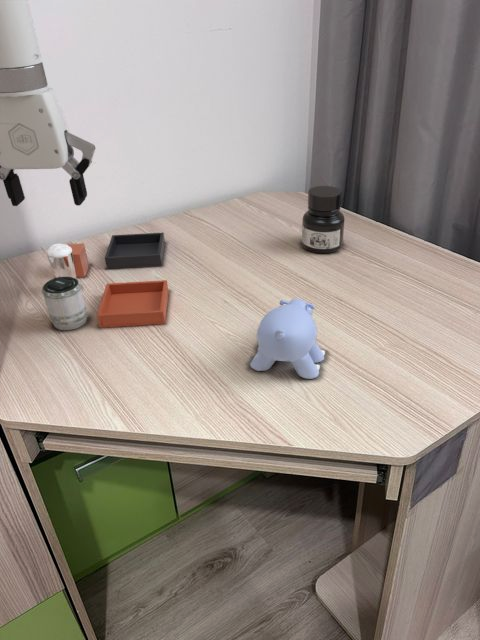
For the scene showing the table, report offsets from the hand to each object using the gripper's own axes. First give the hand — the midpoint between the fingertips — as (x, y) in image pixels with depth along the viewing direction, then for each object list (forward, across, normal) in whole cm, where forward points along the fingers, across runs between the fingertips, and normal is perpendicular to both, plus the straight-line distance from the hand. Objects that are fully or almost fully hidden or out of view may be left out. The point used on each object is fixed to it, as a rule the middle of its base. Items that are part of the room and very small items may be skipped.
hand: (49, 202), depth 83 cm
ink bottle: (+22, +44, +30) cm, 57 cm away
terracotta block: (+21, -7, +17) cm, 28 cm away
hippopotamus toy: (+22, +37, -10) cm, 44 cm away
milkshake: (+21, -6, +10) cm, 24 cm away
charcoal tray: (+21, +4, +25) cm, 33 cm away
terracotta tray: (+21, +9, +3) cm, 23 cm away
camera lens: (+21, -1, -1) cm, 21 cm away
